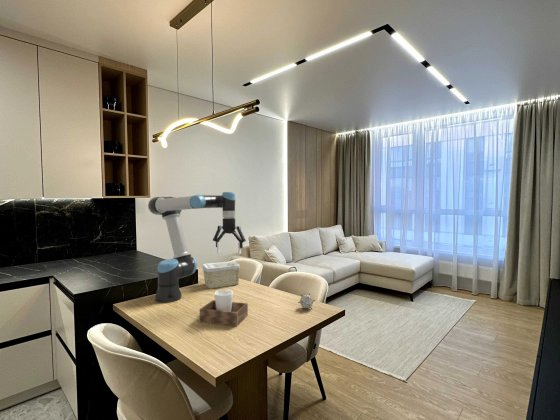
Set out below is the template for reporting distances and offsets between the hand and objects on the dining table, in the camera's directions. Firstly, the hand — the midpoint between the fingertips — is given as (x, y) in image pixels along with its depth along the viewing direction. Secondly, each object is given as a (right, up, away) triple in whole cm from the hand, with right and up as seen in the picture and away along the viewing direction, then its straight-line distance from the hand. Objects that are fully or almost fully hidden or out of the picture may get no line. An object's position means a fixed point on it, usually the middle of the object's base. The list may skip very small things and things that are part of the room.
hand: (229, 253), depth 180 cm
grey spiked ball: (+45, -29, -12) cm, 55 cm away
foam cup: (+2, -29, -26) cm, 39 cm away
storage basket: (-12, -28, +36) cm, 47 cm away
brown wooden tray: (+2, -30, -26) cm, 40 cm away
